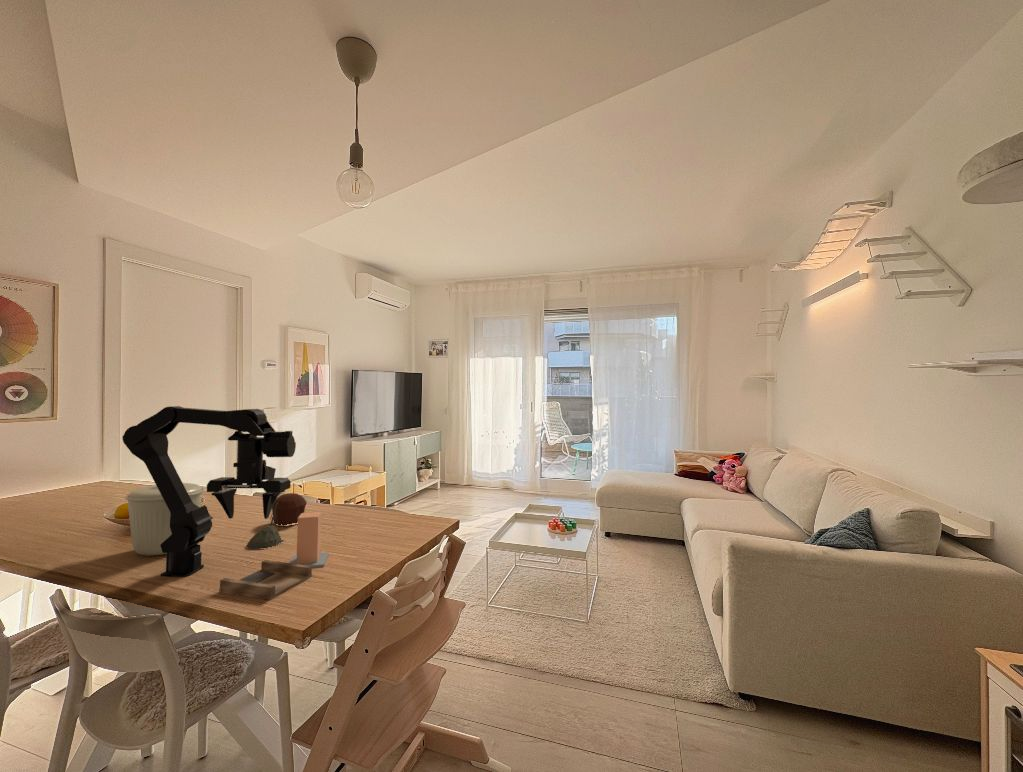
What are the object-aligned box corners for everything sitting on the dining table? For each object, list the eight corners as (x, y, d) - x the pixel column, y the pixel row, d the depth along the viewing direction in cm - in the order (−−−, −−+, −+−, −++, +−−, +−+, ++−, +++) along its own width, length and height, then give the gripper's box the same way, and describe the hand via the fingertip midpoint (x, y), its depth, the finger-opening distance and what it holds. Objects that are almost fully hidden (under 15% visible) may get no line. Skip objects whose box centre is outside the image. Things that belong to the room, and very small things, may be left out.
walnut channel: (219, 591, 98) (219, 580, 98) (265, 570, 110) (265, 559, 110) (270, 600, 94) (270, 588, 94) (311, 576, 107) (312, 565, 107)
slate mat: (286, 569, 111) (286, 567, 111) (293, 557, 119) (293, 555, 119) (323, 566, 113) (323, 564, 113) (328, 554, 122) (328, 552, 122)
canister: (145, 541, 130) (148, 471, 131) (213, 537, 135) (215, 469, 135) (105, 564, 113) (109, 483, 113) (185, 558, 117) (188, 480, 118)
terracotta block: (296, 563, 113) (297, 517, 114) (300, 557, 118) (301, 512, 118) (317, 562, 115) (318, 516, 115) (320, 555, 119) (321, 511, 120)
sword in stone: (259, 552, 123) (260, 510, 124) (241, 549, 126) (241, 507, 127) (290, 541, 132) (290, 502, 133) (272, 539, 136) (272, 500, 136)
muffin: (281, 517, 157) (282, 490, 158) (312, 518, 157) (312, 490, 158) (263, 527, 146) (264, 497, 146) (295, 528, 146) (296, 498, 146)
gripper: (301, 453, 119) (300, 510, 119) (234, 453, 119) (233, 509, 119) (279, 459, 108) (278, 522, 108) (205, 459, 108) (204, 521, 108)
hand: (248, 518), depth 111 cm, fingers open, 9 cm apart
